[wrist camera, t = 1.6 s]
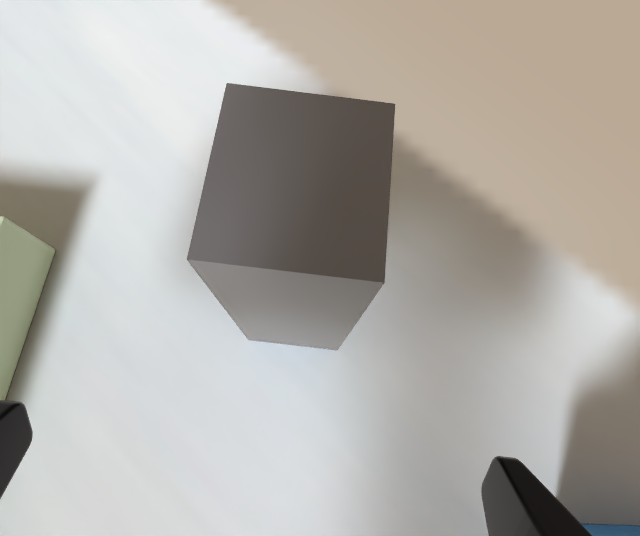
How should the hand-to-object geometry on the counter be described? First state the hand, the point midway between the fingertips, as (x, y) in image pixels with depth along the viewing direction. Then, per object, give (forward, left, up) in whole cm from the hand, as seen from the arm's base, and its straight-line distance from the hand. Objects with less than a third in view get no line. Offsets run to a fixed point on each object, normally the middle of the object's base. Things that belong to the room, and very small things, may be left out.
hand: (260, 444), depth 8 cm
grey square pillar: (+6, 0, -12) cm, 14 cm away
